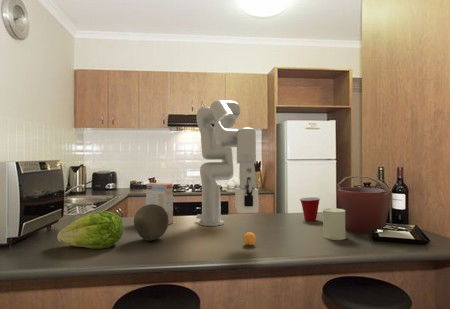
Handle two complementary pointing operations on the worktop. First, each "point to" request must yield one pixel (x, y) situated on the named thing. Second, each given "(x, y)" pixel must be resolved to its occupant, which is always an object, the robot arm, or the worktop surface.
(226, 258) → the worktop surface
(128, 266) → the worktop surface
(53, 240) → the worktop surface
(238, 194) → the white sugar cube
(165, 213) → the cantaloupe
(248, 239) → the ball
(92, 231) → the lettuce
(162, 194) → the cracker box
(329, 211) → the can
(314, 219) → the plastic cup
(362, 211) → the bucket
